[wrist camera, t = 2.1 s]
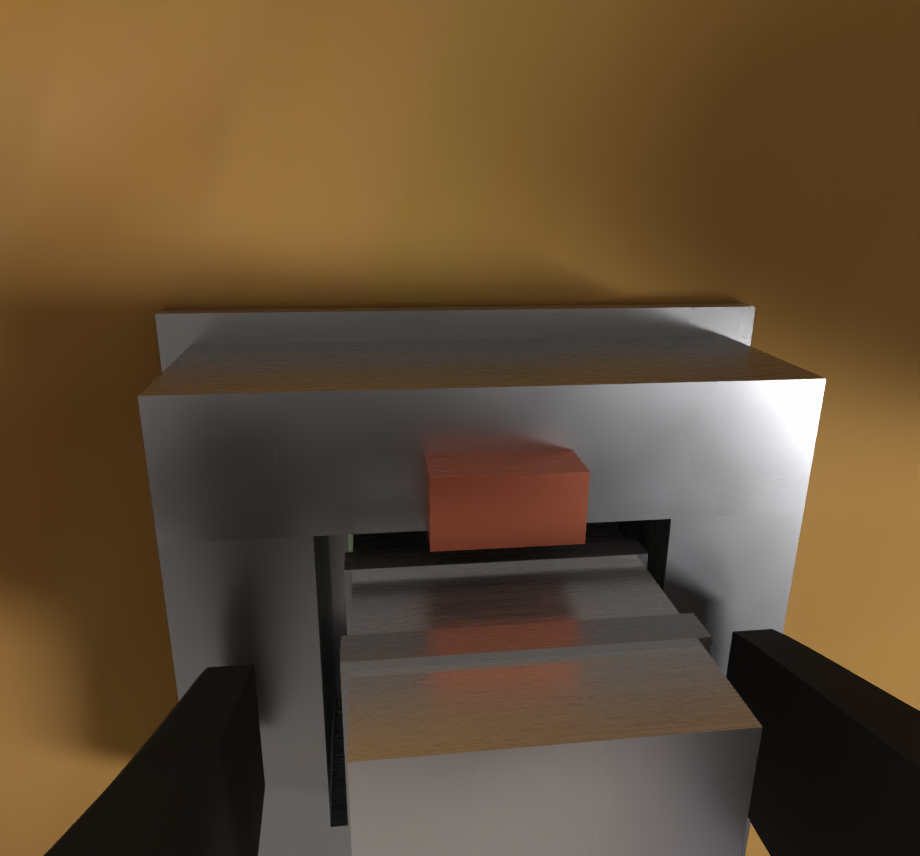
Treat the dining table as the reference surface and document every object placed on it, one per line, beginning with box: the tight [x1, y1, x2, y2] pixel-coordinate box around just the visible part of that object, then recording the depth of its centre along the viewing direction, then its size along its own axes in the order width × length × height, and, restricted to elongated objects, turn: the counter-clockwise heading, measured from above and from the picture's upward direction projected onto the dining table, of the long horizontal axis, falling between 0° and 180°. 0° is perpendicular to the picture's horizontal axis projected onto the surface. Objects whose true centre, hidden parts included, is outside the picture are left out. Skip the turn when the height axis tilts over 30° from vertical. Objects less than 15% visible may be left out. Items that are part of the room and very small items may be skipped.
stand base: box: [138, 303, 826, 856], centre depth 12 cm, size 10×10×4 cm
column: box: [340, 522, 763, 856], centre depth 11 cm, size 4×4×7 cm
